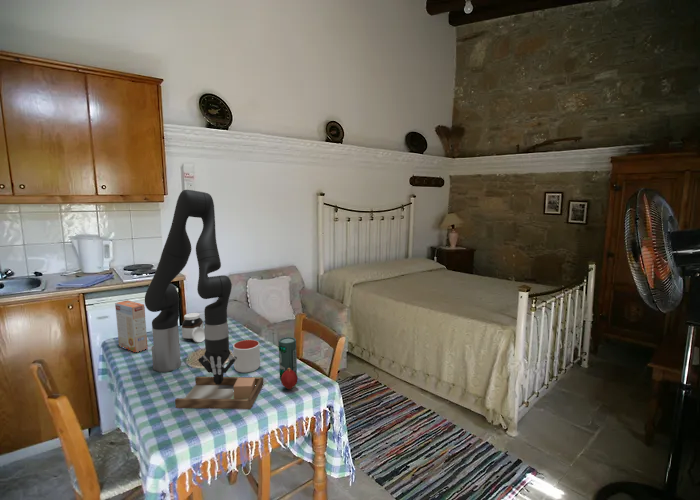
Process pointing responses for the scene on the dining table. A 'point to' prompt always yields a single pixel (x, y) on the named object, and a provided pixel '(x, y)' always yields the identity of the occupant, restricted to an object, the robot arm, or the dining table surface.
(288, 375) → the red oval fruit
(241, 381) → the block
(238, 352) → the cup
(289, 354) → the can
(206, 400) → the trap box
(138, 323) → the cracker box
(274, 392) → the dining table surface
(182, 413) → the dining table surface
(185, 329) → the spread jar
